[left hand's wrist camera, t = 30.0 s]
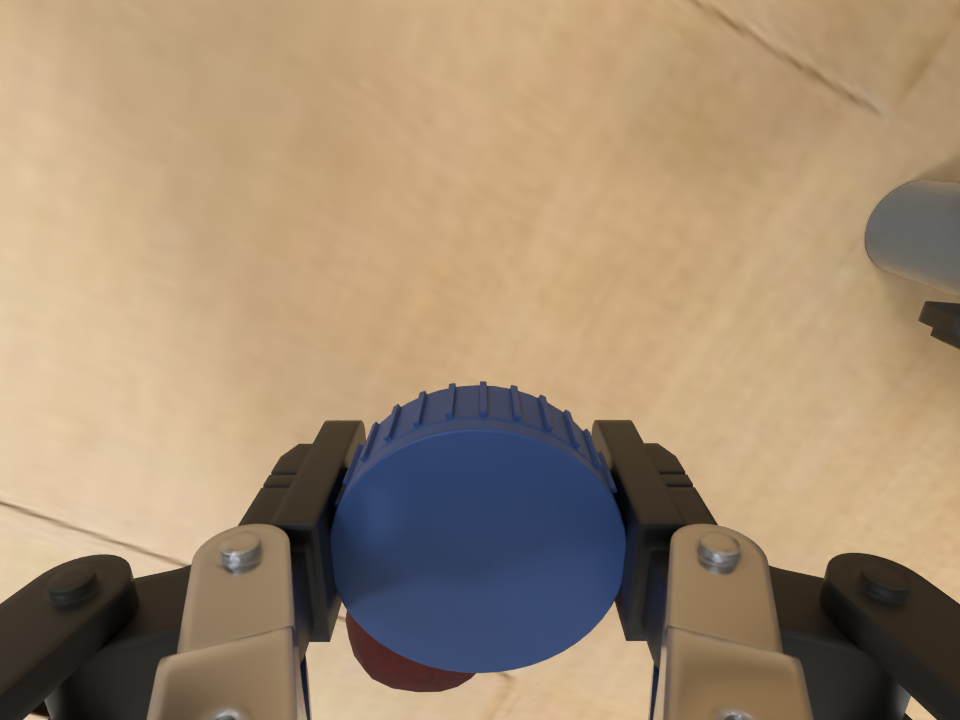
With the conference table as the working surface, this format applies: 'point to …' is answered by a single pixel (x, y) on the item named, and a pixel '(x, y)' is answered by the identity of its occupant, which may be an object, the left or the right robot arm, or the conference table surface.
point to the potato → (398, 665)
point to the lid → (478, 531)
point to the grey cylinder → (919, 234)
